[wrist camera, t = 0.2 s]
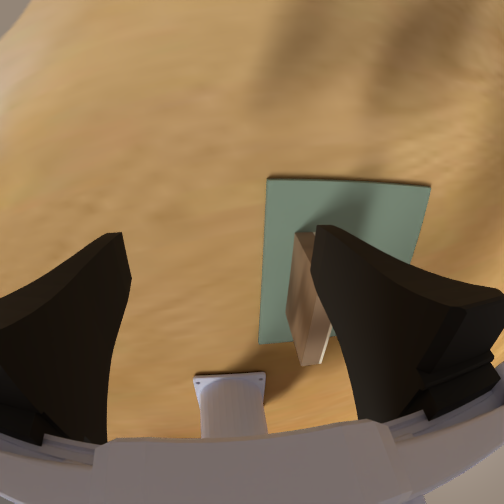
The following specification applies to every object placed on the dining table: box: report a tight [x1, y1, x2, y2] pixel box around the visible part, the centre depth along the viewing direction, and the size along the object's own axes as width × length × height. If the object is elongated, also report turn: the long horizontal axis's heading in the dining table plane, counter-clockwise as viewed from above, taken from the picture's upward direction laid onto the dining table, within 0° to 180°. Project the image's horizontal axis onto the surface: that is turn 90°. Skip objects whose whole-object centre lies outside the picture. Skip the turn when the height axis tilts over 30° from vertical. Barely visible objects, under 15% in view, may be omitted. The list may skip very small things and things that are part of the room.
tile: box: [285, 232, 332, 366], centre depth 21 cm, size 8×2×6 cm, turn 179°
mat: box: [258, 179, 431, 344], centre depth 24 cm, size 16×14×1 cm
